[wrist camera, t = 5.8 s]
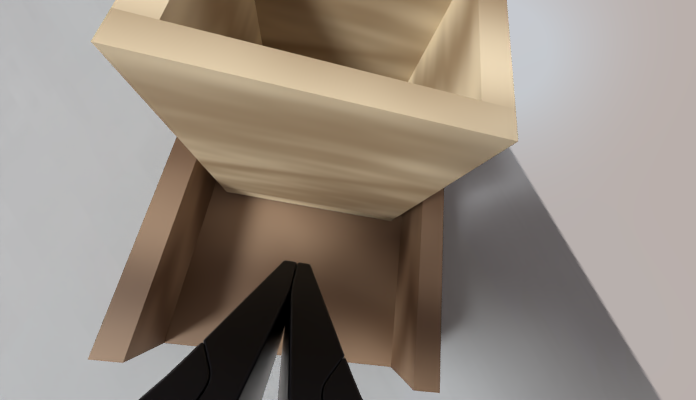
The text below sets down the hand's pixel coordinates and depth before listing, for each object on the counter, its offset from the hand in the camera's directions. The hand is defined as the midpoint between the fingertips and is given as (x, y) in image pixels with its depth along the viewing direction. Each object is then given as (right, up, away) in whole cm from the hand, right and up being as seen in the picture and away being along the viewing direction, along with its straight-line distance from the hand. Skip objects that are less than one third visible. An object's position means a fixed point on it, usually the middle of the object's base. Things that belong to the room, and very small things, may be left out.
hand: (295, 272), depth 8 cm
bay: (-1, +2, +8) cm, 8 cm away
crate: (0, +6, +8) cm, 10 cm away
